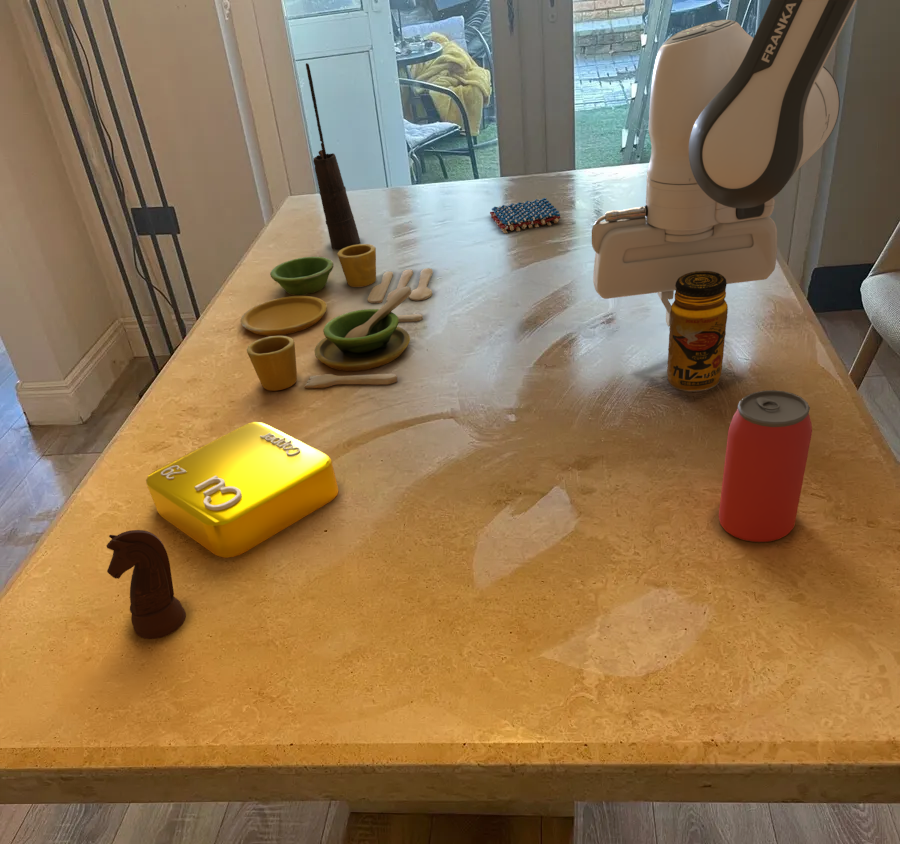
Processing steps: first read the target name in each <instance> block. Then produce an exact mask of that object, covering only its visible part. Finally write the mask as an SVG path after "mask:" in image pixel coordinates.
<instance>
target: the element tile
mask: <svg viewBox="0 0 900 844" xmlns="http://www.w3.org/2000/svg"><path fill="white" fill-rule="evenodd" d="M333 465H334V464H333V461H332V459H331V457H330V456H329V455H328V454H327V453H325V452H323V451H321V450H319V449H318V448H315V447H313V446H311V445H309V444H307V443H305V442H303V441H301V440H300V439H297V438H295V437H294V436H291V435H289V434H288V433H285V432H283V431H282V430H279V429H278V428H275V427H274V426H271V425H269V424H267V423H264V422H258V421H252V422H249V423H246V424H244V425H241V426H240V427H238V428H236V429H234V430H232V431H230V432H228V433H226V434H224V435H222V436H220V437H218V438H216V439H214V440H212V441H210V442H208V443H207V444H205V445H202V446H201V447H198V448H196V449H194V450H192V451H191V452H188V453H186V454H185V455H183V456H180V457H179V458H177V459H174V460H173V461H170V462H169V463H167V464H165V465H163V466H161V467H159V468H157V469H155V470H154V471H152V472H151V473H149V474H148V475H147V477H146V479H145V484H146V486H147V489H148V491H149V495H150V496H151V498H152V502H153V503H154V506H155V509H156V511H157V513H158V514H159V516H160V517H161V518H163V519H164V520H166V521H167V522H168V523H169V524H171V525H173V526H174V527H175V528H177V530H179V531H181V532H182V533H184V534H185V535H187V536H188V537H189V538H191V539H192V540H194V541H195V542H196V543H197V544H199V545H201V546H202V547H203V548H204V549H206V550H208V551H209V552H210V553H212V554H213V555H215V556H217V557H219V558H224V559H226V558H235V557H238V556H240V555H242V554H244V553H246V552H248V551H249V550H251V549H253V548H255V547H257V546H258V545H260V544H262V543H264V542H265V541H266V540H268V539H270V538H272V537H274V536H275V535H276V534H278V533H280V532H282V531H284V530H285V529H287V528H288V527H290V526H292V525H294V524H296V523H297V522H299V521H300V520H302V519H304V518H305V517H307V516H308V515H311V514H312V513H314V512H315V511H317V510H319V509H320V508H323V507H324V506H326V505H327V504H329V503H331V502H332V501H333V500H335V499H336V497H337V496H338V494H339V486H338V482H337V478H336V473H335V469H334V466H333Z"/></svg>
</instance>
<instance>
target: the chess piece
mask: <svg viewBox="0 0 900 844" xmlns="http://www.w3.org/2000/svg"><path fill="white" fill-rule="evenodd" d="M108 538H111V540H110V541H108V543H107V544H106V548H107V550H110V551H112V556H111V559H110V562H109V565H108V568H107V570H106V573H107V574H109V575H110V576H111V577H112V578H114V579H118V580H119V579H120V578H121V577H122V576H123V574H124V573H126V572H127V571H129V570H130V569H133V570H132V574H131V579H130V585H129V600H130V602H129V603H130V606H129V612H130V613H131V616H130V617H131V618H130V619H131V620H130V621H131V624H132V626H133V627H132V628H133V630H134V632H135V634H136V635H137V637H139V638H141V639H145V640H157V639H162V638H165V637H167V636H169V635H171V634H173V633H174V632H176V631H177V630H179V629H180V628H181V627H182V625H183V624H184V623H185V621H186V617H187V613H186V610H185V608H184V606H183V605H182V603H181V601H179V599H178V598H177V597H175V592H174V584H173V579H172V578H173V577H172V571H171V563H170V559H169V555H168V551H167V550H166V547H165V545H164V543H163V542H162V541H161V539H160V538H159V537H158V536H157V535H156V534H154V533H152V532H151V531H148V530H143V529H133V530H127V531H123V532H121V533H119V534H117V535H116V534H109V535H108Z"/></svg>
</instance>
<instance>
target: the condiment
mask: <svg viewBox="0 0 900 844" xmlns="http://www.w3.org/2000/svg"><path fill="white" fill-rule="evenodd" d="M727 285H728V284H727V283H726V279H725V277H724V276H722V275H721V274H719V273H716V272H712V271H695V272H691V273H687V274H685V275H683V276H681V277H679V278H678V280H677V281H676V285H675V286H676V290H675V291H674V301H673V302H672V303H671V312H670V326H669V327H668V328H669V329H668V331H669V334H668V346H667V347H668V349H667V350H668V351H667V363H666V364H667V369H666V375H667V383H668V385H670V386H671V387H672V388H673V389H676V390H678V391H683V392H690V393H691V392H694V393H695V392H704V391H707V390H711V389H713V388H715V387H716V386H718V385H719V384H720V382H721V375H722V370H723V361H724V351H725V338H726V335H727V334H726V333H727V332H726V330H727V329H726V328H727V321H728V313H729V311H728V310H729V308H728V307H729V306H728V303H727V301H726V300H725V299H726V297H727V291H726V290H727Z"/></svg>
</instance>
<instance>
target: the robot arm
mask: <svg viewBox="0 0 900 844" xmlns="http://www.w3.org/2000/svg"><path fill="white" fill-rule="evenodd" d="M857 1H858V0H769V3H768V5H767V7H766V9H765V11H764V14H763V16H762V17H761V18H762V19H761V21H760V23H759V26H758V27H757V30H756V31H755V34H754V36H752V35H750V34H749V33H748V32H747V31H746V30H744V28H743V27H742V26H741V25H740V23H738V22H737V21H736V20H731V19H716V20H712V21H707V22H704V23H701V24H700V23H699V24H697V25H693V26H692V27H689V28H687V29H683V30H681V31H680V30H679V32H676V33H674V34H673V35H671V36H670V37H669V38H667V39H666V40H665V41H664V42H663V43H662V45H661V46H660V47H659V49H658V51H657V54H656V57H655V60H654V66H653V70H652V76H651V77H652V79H651V87H650V96H649V107H648V126H647V127H648V128H647V129H648V136H649V140H650V144H651V145H650V146H651V151H650V159H649V163H648V165H647V169H646V188H645V189H646V191H645V193H646V195H645V205H644V206H637V207H630V208H626V209H622V210H620V209H619V210H618V209H613V210H607V211H605V213H604V215H602V216H600V217H599V218H598V219H596V220H595V221H594V223H593V225H592V228H591V245H592V246H591V247H592V249H593V251H594V252H595V255H594V262H593V275H592V276H593V277H592V278H593V279H592V282H593V287H594V290H595V292H596V293H597V294H598V295H599V297H600V298H602V299H603V300H608V299H616V298H625V297H632V296H641V295H649V294H657V295H658V297H659V299H660V301H661V303H662V305H663V306H664V309H665V324H666V325H667V327H668V328H670V312H671V306H672V303H671V302H670V301H671V300H673V299H674V295H675V292H676V286H675V285H676V281H677V280H678V278H679V277H681V276H683V275H685V274H687V273H691V272H695V271H712V272H716V273H719V274H721V275H722V276H724V277H725V279H726V283H727V285H731V284H739V283H748V282H754V281H755V282H757V281H764V280H767V279H768V278H770V276H771V275H772V274H773V272H774V271H775V269H776V265H777V254H778V229H777V225H776V222H775V221H774V219H773V218H772V217H771V216H772V214H773V212H774V210H775V204H776V200H775V198H774V197H776V196H778V194H779V193H780V192H781V191H782V190H783V189H784V188H785V187H786V185H787V184H788V182H789V181H790V180H791V179H792V177H793V176H794V175H795V173H796V172H798V170H799V169H801V167H803V166H804V165H805V164H806V163H807V162H808V161H809V160H810V159H811V158H812V157H813V156H814V155H815V154H816V153H817V152H818V150H820V148H821V147H822V146H823V145H824V144H825V143H826V142H827V141H828V139H829V138H830V137H831V135H832V134H833V131H834V129H835V127H836V124H837V122H838V118H839V114H840V107H841V106H840V105H841V99H840V93H839V87H838V85H837V84H838V83H837V82H836V80H835V78H834V77H833V74H831V72H830V70H828V69H827V68H826V67H825V63H826V62H827V60H828V58H829V56H830V54H831V52H832V50H833V48H834V47H835V44H836V43H837V40H838V38H839V36H840V34H841V32H842V31H843V28H844V26H845V24H846V22H847V20H848V19H849V16H850V14H851V12H852V11H853V9H854V6H855V4H856V3H857ZM669 300H670V301H669Z"/></svg>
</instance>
